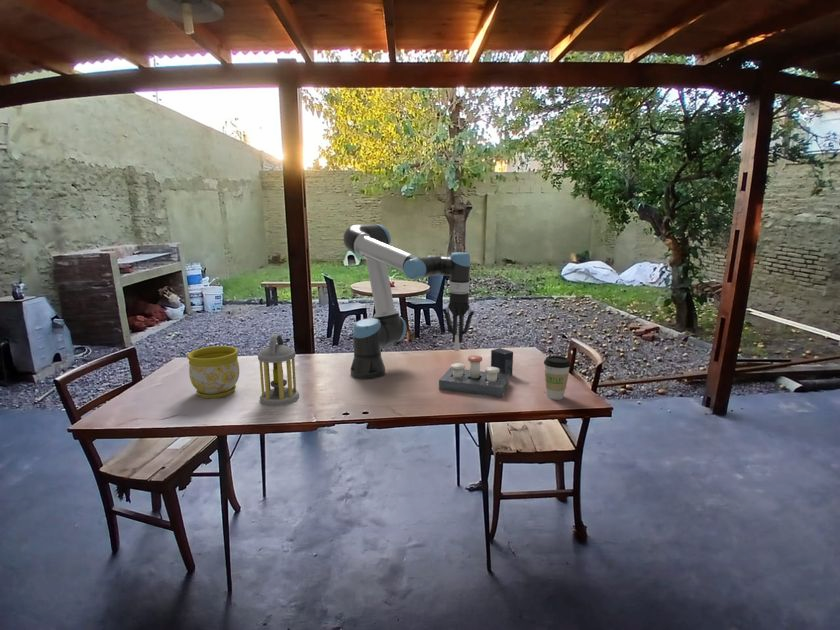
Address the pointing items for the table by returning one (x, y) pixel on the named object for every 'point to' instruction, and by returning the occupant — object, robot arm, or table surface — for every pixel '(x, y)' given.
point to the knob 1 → (458, 369)
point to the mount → (474, 384)
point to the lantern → (277, 373)
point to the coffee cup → (556, 376)
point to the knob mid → (475, 366)
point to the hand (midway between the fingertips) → (457, 349)
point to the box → (502, 360)
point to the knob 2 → (492, 373)
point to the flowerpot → (214, 370)
